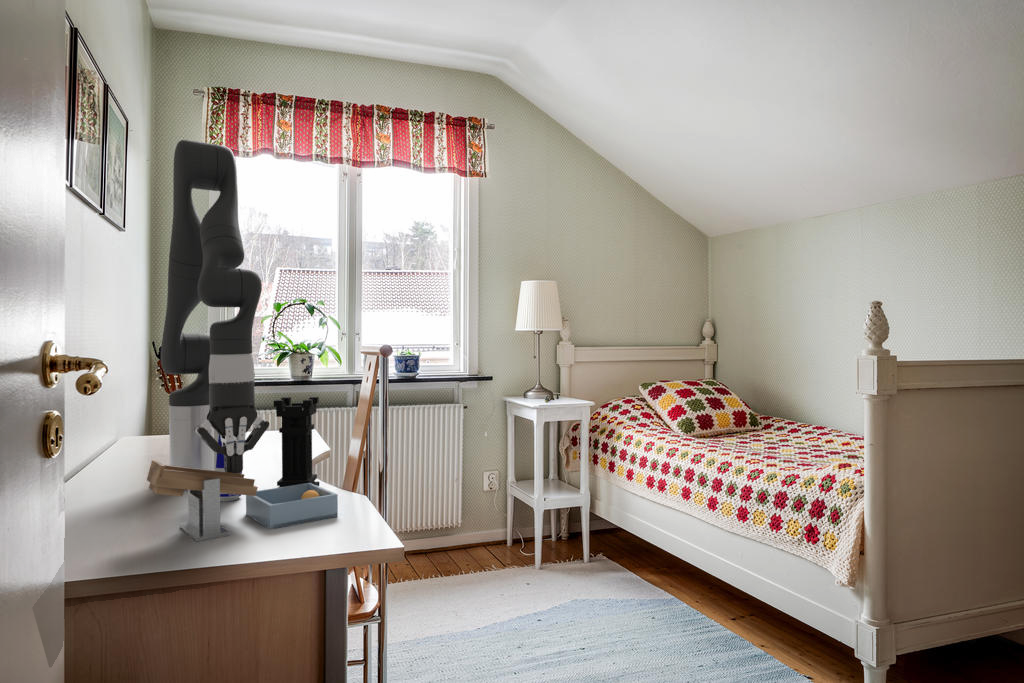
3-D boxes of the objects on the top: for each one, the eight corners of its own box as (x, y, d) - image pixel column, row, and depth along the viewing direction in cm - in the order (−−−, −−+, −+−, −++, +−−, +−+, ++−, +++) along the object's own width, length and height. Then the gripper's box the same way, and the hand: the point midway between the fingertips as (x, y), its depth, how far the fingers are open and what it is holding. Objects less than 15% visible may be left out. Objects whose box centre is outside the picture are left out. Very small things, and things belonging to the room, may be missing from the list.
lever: (138, 482, 113) (145, 455, 114) (233, 491, 123) (239, 466, 123) (153, 494, 104) (161, 465, 105) (254, 503, 114) (261, 477, 115)
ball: (306, 485, 125) (319, 495, 127) (294, 500, 124) (307, 510, 125) (314, 488, 123) (326, 498, 124) (301, 503, 121) (314, 514, 123)
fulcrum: (180, 527, 114) (179, 472, 114) (211, 522, 118) (210, 468, 117) (196, 541, 107) (195, 482, 107) (229, 535, 110) (228, 477, 110)
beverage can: (232, 502, 131) (231, 426, 131) (208, 501, 132) (208, 425, 132) (247, 496, 136) (246, 422, 136) (224, 495, 137) (224, 422, 137)
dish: (246, 514, 122) (245, 492, 122) (310, 503, 130) (309, 482, 130) (270, 529, 113) (270, 505, 113) (337, 516, 121) (337, 494, 121)
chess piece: (282, 493, 138) (281, 396, 138) (321, 492, 139) (321, 396, 139) (271, 503, 130) (270, 400, 130) (313, 502, 131) (312, 400, 131)
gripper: (261, 376, 127) (263, 467, 127) (186, 380, 119) (188, 477, 119) (276, 378, 121) (277, 473, 122) (198, 382, 113) (200, 484, 113)
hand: (233, 475), depth 120 cm, fingers closed
